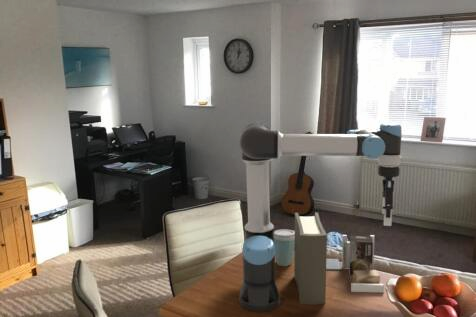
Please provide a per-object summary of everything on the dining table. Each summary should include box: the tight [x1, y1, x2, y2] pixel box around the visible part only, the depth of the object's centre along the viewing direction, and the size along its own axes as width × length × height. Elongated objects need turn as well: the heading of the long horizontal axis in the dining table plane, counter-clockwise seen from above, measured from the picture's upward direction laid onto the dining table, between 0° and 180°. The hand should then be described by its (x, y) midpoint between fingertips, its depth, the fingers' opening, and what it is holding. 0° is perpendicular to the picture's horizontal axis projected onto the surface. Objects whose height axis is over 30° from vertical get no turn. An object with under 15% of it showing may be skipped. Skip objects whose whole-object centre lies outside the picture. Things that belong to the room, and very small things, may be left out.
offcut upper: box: [353, 269, 381, 283], centre depth 162 cm, size 9×5×3 cm, turn 90°
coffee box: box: [348, 235, 374, 278], centre depth 169 cm, size 9×6×16 cm
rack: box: [341, 234, 385, 293], centre depth 166 cm, size 13×20×15 cm, turn 175°
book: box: [293, 212, 328, 305], centre depth 158 cm, size 22×9×28 cm, turn 178°
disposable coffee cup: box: [274, 228, 295, 267], centre depth 182 cm, size 11×11×15 cm
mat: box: [326, 258, 342, 271], centre depth 181 cm, size 10×10×1 cm
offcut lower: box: [349, 276, 380, 284], centre depth 162 cm, size 10×5×3 cm, turn 86°
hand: (386, 219), depth 157 cm, fingers open, 13 cm apart
